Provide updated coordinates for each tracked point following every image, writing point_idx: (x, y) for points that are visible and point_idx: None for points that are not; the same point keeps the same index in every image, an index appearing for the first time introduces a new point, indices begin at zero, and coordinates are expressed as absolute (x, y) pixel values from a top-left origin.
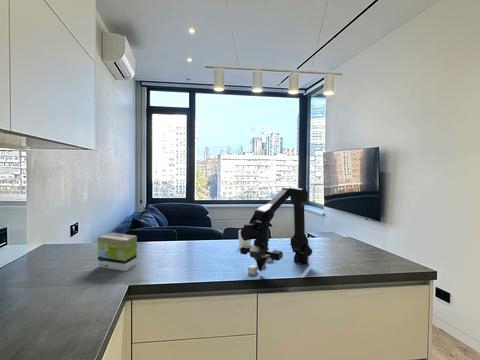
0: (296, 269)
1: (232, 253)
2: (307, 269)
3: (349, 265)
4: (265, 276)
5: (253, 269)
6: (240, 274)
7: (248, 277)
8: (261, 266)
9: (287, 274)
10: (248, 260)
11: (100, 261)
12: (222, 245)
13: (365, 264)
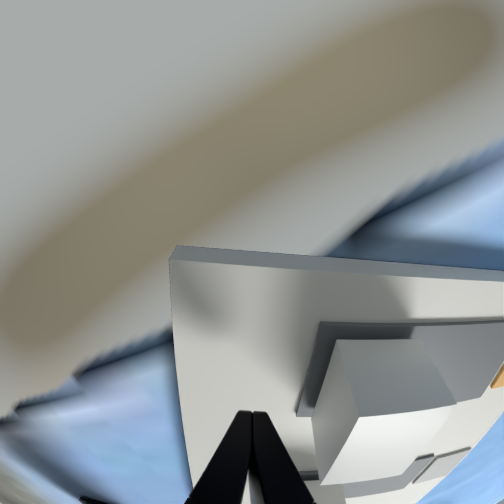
0: (102, 490)
1: (470, 491)
2: (68, 487)
3: (16, 493)
4: None
5: (362, 398)
6: None
7: None
8: (217, 476)
9: (90, 447)
10: None
11: None
12: (490, 498)
13: (3, 491)
